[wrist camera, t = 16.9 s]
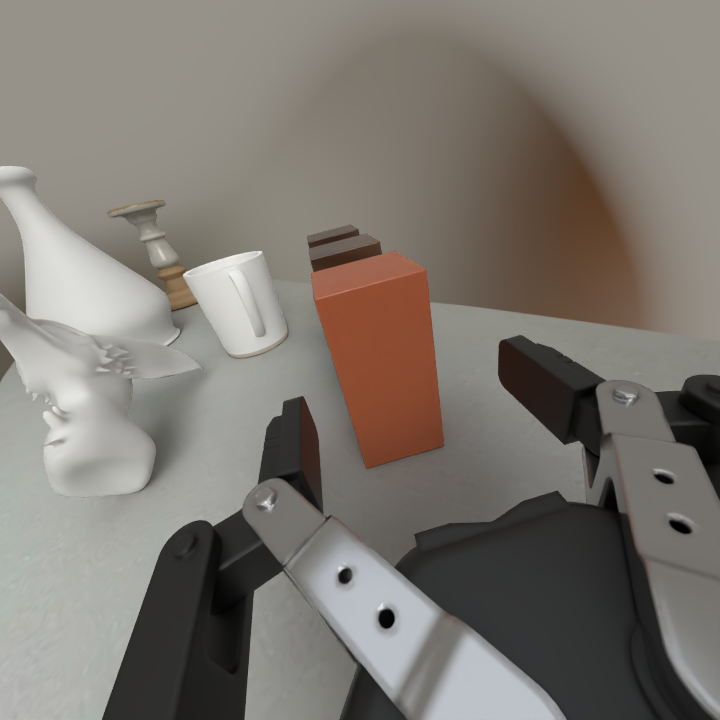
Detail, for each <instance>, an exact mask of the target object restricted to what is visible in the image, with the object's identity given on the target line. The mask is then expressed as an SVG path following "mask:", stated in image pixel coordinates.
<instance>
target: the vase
mask: <svg viewBox="0 0 720 720" xmlns="http://www.w3.org/2000/svg"><path fill="white" fill-rule="evenodd" d="M36 181H37V178H36V176H35V174H34V173H33V172H32V171H31V170H29V169H27V168H24V167H18V166H1V167H0V198H1V199H2V200H3V201H4V203H5V204H6V206H7V207H8V209H9V210H10V212H11V214H12V216H13V217H14V219H15V221H16V223H17V225H18V228H19V231H20V234H21V237H22V242H23V248H24V258H25V277H26V278H25V279H26V316H28V317H30V318H31V319H46V320H53V321H57V322H60V323H63V324H65V325H68V326H70V327H73V328H75V329H77V330H80V331H82V332H84V333H86V334H90V335H100V336H115V337H125V338H134V339H142V340H146V341H149V342H153V343H157V344H161V345H165V346H167V345H168V344H170V343H171V342H172V341H174V340H175V339H176V338H177V337H178V335H179V334H180V329H179V328H176V327H174V325H173V323H172V318H171V303H170V300H169V298H168V297H167V295H166V294H165V293H164V292H163V291H162V290H160V289H159V288H158V287H157V286H155V285H154V284H152V283H151V282H149V281H147V280H146V279H145V278H143V277H142V276H140V275H139V274H137V273H135V272H134V271H132V270H130V269H129V268H127V267H126V266H124V265H123V264H121V263H120V262H118V261H116V260H115V259H113V258H112V257H110V256H108V255H107V254H105V253H104V252H102V251H101V250H99V249H98V248H96V247H95V246H93V245H92V244H90V243H89V242H87V241H86V240H84V239H83V238H81V237H80V236H78V235H77V234H76V233H74V232H73V231H72V230H70V229H69V228H68V227H67V226H66V225H64V224H63V223H62V222H61V221H60V220H59V219H58V218H57V217H56V216H55V215H54V214H53V213H52V212H51V211H50V210H49V208H48V207H47V206H46V205H45V204H44V202H43V201H42V200H41V198H40V197H39V196H38V194H37V192H36V190H35V184H36Z"/></svg>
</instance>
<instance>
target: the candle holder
mask: <svg viewBox="0 0 720 720" xmlns="http://www.w3.org/2000/svg"><path fill="white" fill-rule="evenodd" d="M165 206H166V203H165V201H164V200H155V201H149V202H144V203H139V204H134V205H129V206H125V207H121V208H117V209H114V210H111V211H109V212H107V215H108V216H109V217H110V218H113V219H114V218H125V219H127V221H128V222H129V223H131V224H133V225H135V226H136V227H137V228H138V229H139V231H140V234H141V235H140V238H139V240H140V241H142V242H144V243H145V244H146V246H147V249H148V252H149V255H150V260H151V264H152V265H153V266H154V267H156V268H158V269H159V272H158V278H160V279H162V280H164V281H165V283H166V286H167V288H168V291H169V292H168V293H166V295H167V297H168V298H169V300H170V303H171V311H173V310H177V309H181V308H184V307H187V306H190V305H193V304H195V303H198V302H197V300H196V298H195V297H194V295H193V293H192V291H191V290H190V288H189V286H188V285H187V283H186V281H185V280H184V278H183V274H185V273H186V272H185V271H186V268H185V267H183V266H182V265H179V264H178V262H179V256H178V255H177V254H176V252H175V251H174V250H173V249H172V248H171V247H170V246H169V244H168V243H167V242H166V240H165V238H164V237H165V236H166V233H165V232H163V231H161V230H159V228H158V227H157V225H156V218H157V214H156V210H158V209H161V208H163V207H165Z"/></svg>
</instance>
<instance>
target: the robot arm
mask: <svg viewBox="0 0 720 720" xmlns="http://www.w3.org/2000/svg"><path fill="white" fill-rule="evenodd" d="M498 376H499V379H500V382H501V384H502V385H503V387H504V388H505V389H506V390H507V391H508V392H509V393H510V394H511V395H513V396H514V397H515V398H516V399H517V400H518V401H519V402H520V403H521V404H522V405H523V406H524V407H525V408H526V409H527V410H528V411H529V412H530V413H531V414H533V415H534V416H535V417H536V418H537V419H538V420H539V421H540V422H541V423H542V424H543V425H544V426H545V427H546V428H547V429H548V430H549V431H550V432H551V433H553V434H554V435H555V436H556V437H557V438H558V439H559V440H560V441H561V442H562V443H563V444H564V445H566V444H569V443H573V442H576V441H580V442H581V443H582V444H583V447H582V460H583V469H584V479H585V488H586V503H578V502H567V501H566V500H565V499H564V498H563V496H562V495H561V494H560V493H559V492H558V491H555V492H551V493H548V494H545V495H541V496H538V497H535V498H532V499H528V500H525V501H522V502H521V503H519V504H518V505H516V506H515V507H513V508H512V509H510V510H509V511H508V512H506V513H505V514H503V515H502V516H500V517H499V518H497V519H496V520H494V521H491V522H476V523H449V524H446V525H443V526H439V527H436V528H433V529H429V530H426V531H423V532H420V533H416V534H414V536H415V540H416V545H417V546H416V547H415V548H413V549H412V550H410V551H409V552H408V553H407V554H406V555H405V556H404V557H403V558H402V559H401V560H400V561H399V562H398V563H397V565H396V566H395V568H394V567H393V566H391V565H390V564H389V563H388V562H387V561H386V560H385V559H383V558H382V557H381V556H380V555H379V554H378V553H376V552H375V551H374V550H373V549H372V548H371V547H369V546H368V545H367V544H366V543H365V542H364V541H362V540H361V539H360V538H359V537H358V536H357V535H356V534H354V533H353V532H352V531H351V530H350V529H349V528H347V527H346V526H345V525H344V524H343V523H342V522H340V521H339V520H338V519H337V518H335V517H334V516H332V515H330V516H329V517H326V516H324V515H323V500H322V484H321V469H320V453H319V439H318V433H317V429H316V426H315V423H314V421H313V418H312V416H311V413H310V411H309V408H308V406H307V403H306V401H305V399H304V397H303V396H301V397H297V398H293V399H290V400H286V401H284V402H283V411H282V415H281V416H277V417H274V418H273V419H272V421H271V422H270V424H269V425H268V427H267V430H266V436H265V442H264V450H263V455H262V461H261V468H260V474H259V481H258V485H257V486H256V487H255V488H253V489H252V490H251V492H250V493H249V494H248V496H247V497H246V499H245V501H244V504H243V508H242V509H241V510H239V511H238V512H237V513H235V514H233V515H232V516H230V517H228V518H227V519H225V520H223V521H222V522H220V523H218V524H217V525H215V526H212V525H211V524H210V523H209V522H207V521H204V520H199V521H194V522H191V523H189V524H187V525H185V526H183V527H182V528H181V529H179V530H178V531H177V532H176V533H174V534H173V535H172V536H171V538H170V539H169V540H168V541H167V542H166V544H165V545H164V547H163V549H162V550H161V552H160V555H159V557H158V560H157V563H156V566H155V569H154V572H153V575H152V577H151V580H150V583H149V586H148V589H147V592H146V595H145V598H144V600H143V603H142V606H141V609H140V612H139V615H138V618H137V620H136V623H135V626H134V629H133V632H132V635H131V638H130V641H129V643H128V646H127V649H126V652H125V655H124V658H123V661H122V663H121V666H120V669H119V672H118V675H117V678H116V681H115V684H114V686H113V689H112V692H111V695H110V698H109V701H108V704H107V706H106V709H105V712H104V715H103V718H102V720H244V719H245V705H246V691H247V678H248V664H249V651H250V637H251V623H252V610H253V596H254V590H256V589H257V588H259V587H260V586H261V585H263V584H264V583H266V582H267V581H269V580H270V579H272V578H273V577H274V576H276V575H277V574H279V573H280V572H282V571H283V572H284V573H285V575H286V576H287V577H288V578H289V580H290V581H291V582H292V583H293V585H294V586H295V587H296V589H297V590H298V591H299V592H300V594H301V595H302V596H303V597H304V599H305V600H306V601H307V603H308V604H309V605H310V606H311V608H312V609H313V610H314V612H315V613H316V614H317V615H318V617H319V618H320V619H321V621H322V622H323V623H324V625H325V626H326V627H327V629H328V630H329V631H330V633H331V634H332V635H333V636H334V638H335V639H336V640H337V642H338V643H339V644H340V645H341V647H342V648H343V649H344V651H345V652H346V653H347V654H348V656H349V657H350V658H351V660H352V661H353V662H354V663H355V665H356V666H357V669H356V672H355V675H354V678H353V681H352V684H351V687H350V690H349V693H348V696H347V699H346V702H345V705H344V708H343V711H342V713H341V716H340V719H339V720H720V376H717V375H696V376H692V377H689V378H687V379H686V380H685V383H684V385H683V387H682V390H681V391H667V392H653V391H652V390H650V389H649V388H647V387H645V386H643V385H640V384H638V383H634V382H630V381H624V380H610V381H606V380H604V379H603V378H601V377H599V376H598V375H596V374H594V373H593V372H591V371H590V370H588V369H586V368H585V367H583V366H581V365H580V364H578V363H576V362H573V360H571V359H570V358H568V357H566V356H563V354H562V353H560V352H558V351H557V350H555V349H553V348H551V347H548V346H545V345H541V344H538V343H537V344H535V343H533V342H532V341H530V340H529V339H527V338H526V337H524V336H522V335H519V336H516V337H512V338H508V339H505V340H502V341H500V343H499V357H498Z"/></svg>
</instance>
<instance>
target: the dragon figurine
mask: <svg viewBox="0 0 720 720" xmlns="http://www.w3.org/2000/svg"><path fill="white" fill-rule="evenodd" d="M0 339H1V341H2V342H3V344H4V345H5V346H6V348H7V349H8V351H9V352H10V353H11V355H12V356H13V358H14V359H15V360H16V369H17V371H18V373H19V375H20V376H21V378H22V383H23V384H25V385H26V391H25V392H26V393H33V399H32V401H34V400H36V399H37V398H38V396H39V395H41V394H42V395H43V396H46V397H45V400H46V401H45V402H44V403H47V402H48V401H49V400H50V402H49V405H53V407H52V409H53V411H54V413H53V412H51V411H45V412H44V413H43V418H44V419H45V421H46V422H47V424H48V425H49V426H50V430H49V432H48V434H47V437H46V439H45V443H44V445H43V446H44V448H43V458H44V464H45V469H46V473H47V476H48V479H49V481H50V484H51V486H52V487H53V489H54V490H55V491H56V492H57V493H58V494H60V495H62V496H66V497H75V498H86V497H99V496H111V495H123V494H130V493H134V492H137V491H139V490H141V489H143V488H144V487H145V486H146V485H147V483H148V482H149V480H150V477H151V474H152V470H153V465H154V460H155V455H156V447H155V444H154V442H153V440H152V439H151V437H150V436H149V435H148V434H147V433H146V432H145V431H144V430H143V429H141V428H140V427H138V426H137V425H136V424H134V423H133V422H132V421H131V420H130V418H129V416H128V409H129V405H130V402H131V399H132V393H133V384H132V379H133V378H142V379H157V378H164V377H169V376H173V375H176V374H180V373H184V372H187V371H191V370H194V369H198V368H200V369H202V370H204V369H203V368H202V367H201V366H200V365H199V364H198V363H197V362H196V361H194V360H193V359H192V358H190V357H189V356H187V355H186V354H184V353H182V352H180V351H178V350H175V349H173V348H170V347H167V346H165V345H161V344H157V343H153V342H149V341H146V340H142V339H134V338H125V337H115V336H100V335H90V334H86V333H84V332H82V331H80V330H77V329H75V328H73V327H70V326H68V325H65V324H63V323H60V322H57V321H53V320H46V319H31V318H30V317H28V316H26V315H25V314H24V313H23V312H21V311H20V310H19V309H18V308H17V307H15V306H14V305H13V304H12V303H11V302H10V301H9V300H7V299H6V298H5V297H4V296H3V295H1V294H0ZM204 372H205V371H204Z"/></svg>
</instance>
